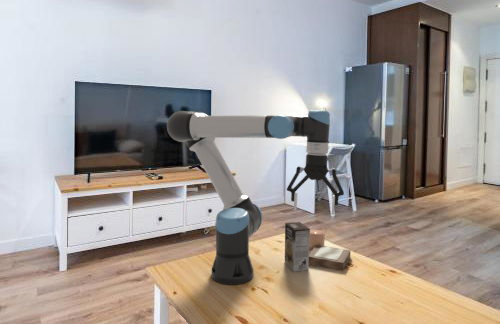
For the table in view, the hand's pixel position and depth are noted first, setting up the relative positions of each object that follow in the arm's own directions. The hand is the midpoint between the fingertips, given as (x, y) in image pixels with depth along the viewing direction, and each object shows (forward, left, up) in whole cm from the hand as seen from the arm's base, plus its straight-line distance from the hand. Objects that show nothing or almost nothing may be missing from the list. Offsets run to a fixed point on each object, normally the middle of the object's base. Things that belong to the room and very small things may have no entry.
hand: (313, 212), depth 130 cm
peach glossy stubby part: (-5, +23, -22) cm, 33 cm away
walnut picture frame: (+3, +12, -22) cm, 26 cm away
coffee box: (-7, +1, -23) cm, 24 cm away
